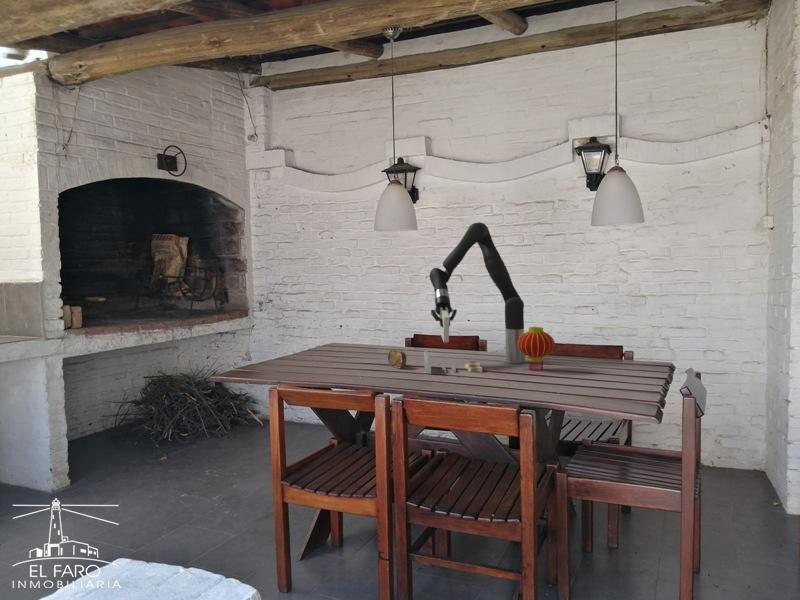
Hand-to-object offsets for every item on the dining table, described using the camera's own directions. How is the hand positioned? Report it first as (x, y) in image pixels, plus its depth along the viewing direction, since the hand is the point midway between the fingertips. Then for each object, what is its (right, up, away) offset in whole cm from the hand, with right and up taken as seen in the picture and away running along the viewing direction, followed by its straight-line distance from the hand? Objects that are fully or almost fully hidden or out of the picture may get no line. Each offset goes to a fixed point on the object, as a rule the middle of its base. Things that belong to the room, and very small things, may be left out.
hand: (445, 326), depth 299 cm
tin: (-24, -21, +3) cm, 32 cm away
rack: (-3, -21, -8) cm, 23 cm away
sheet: (0, -6, +3) cm, 7 cm away
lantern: (+42, -20, -12) cm, 48 cm away
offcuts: (+13, -21, -8) cm, 26 cm away
